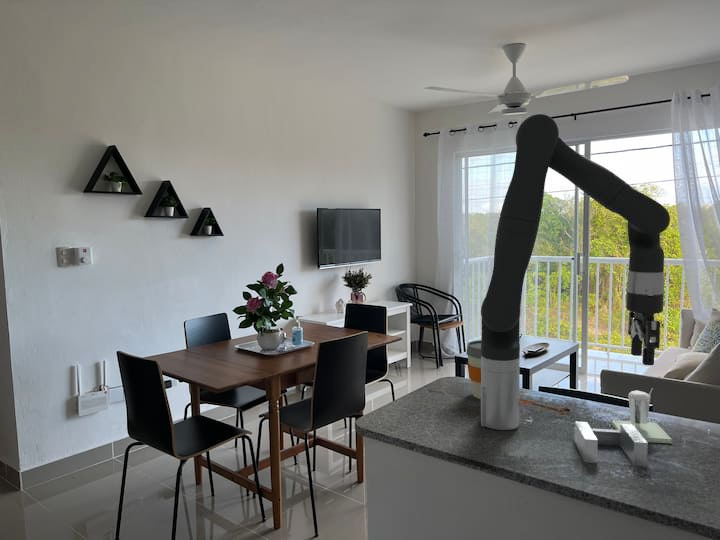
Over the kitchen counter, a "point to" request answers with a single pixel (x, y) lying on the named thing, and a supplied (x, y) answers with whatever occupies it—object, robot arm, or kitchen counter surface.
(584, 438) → the grey u-shaped bracket
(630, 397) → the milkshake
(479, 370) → the reusable coffee cup
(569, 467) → the kitchen counter surface
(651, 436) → the mat
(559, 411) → the key
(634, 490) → the kitchen counter surface
